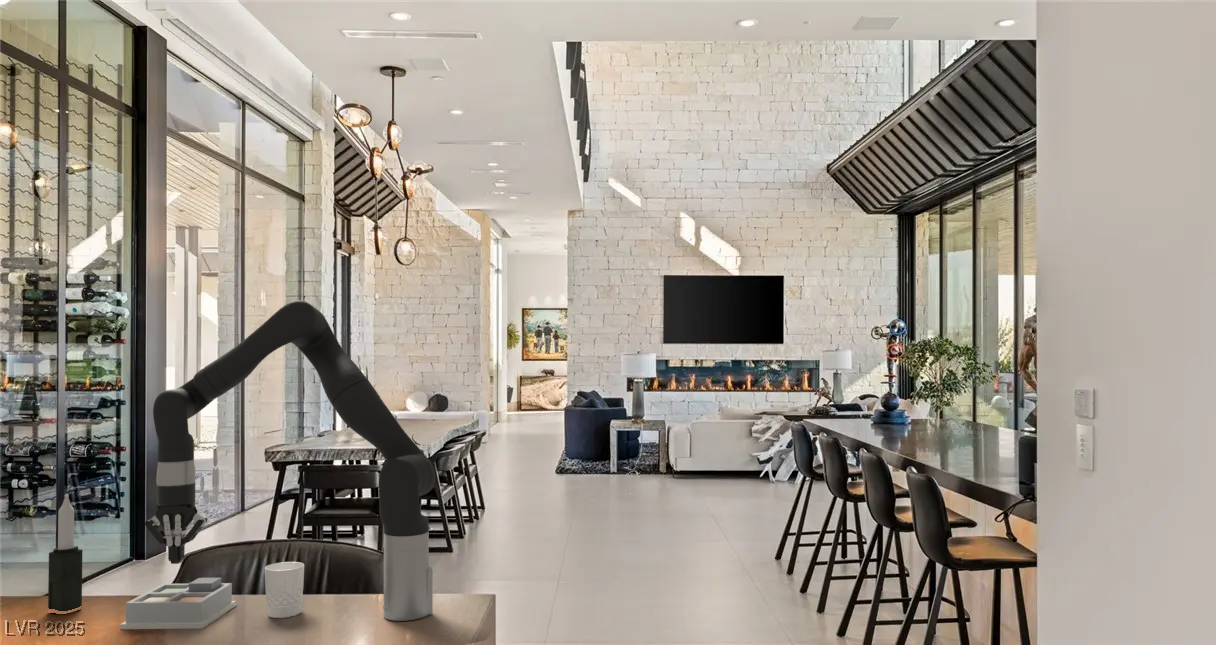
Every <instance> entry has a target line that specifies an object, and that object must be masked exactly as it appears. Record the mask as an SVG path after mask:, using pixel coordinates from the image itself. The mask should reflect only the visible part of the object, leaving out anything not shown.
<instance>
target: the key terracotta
mask: <svg viewBox="0 0 1216 645" xmlns="http://www.w3.org/2000/svg"><path fill="white" fill-rule="evenodd" d="M202 598H204V597H184V598H182V599H180V600H178V601H199V600H201V599H202Z"/></svg>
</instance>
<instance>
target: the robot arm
mask: <svg viewBox="0 0 1216 645" xmlns="http://www.w3.org/2000/svg"><path fill="white" fill-rule="evenodd" d="M288 344H293V345H294V346H296V348H298V349H299V351H301V353H302V354H303V355H304V357H306V359H307V360H308V361H309V363H310V364H311V365H312V366H313V368H315V370H316V373H317V376H318V377H319V380H320V382H321V385H322V388H323V390H324V393H325V395H326V397H327V399H328V401H329V402H330V404H331V405H332V407H333V408H334V410H335V412H336V413H337V414H338V416H339V417H340V418H341V420H342V421H343V422H344V423H345V424H346V425H347V427H349V428H350V429H351V430H352V431H353V432H355V433H356V434H358V435H359V436H360V437H362V438H363V439H364V440H366V441H367V442H368V443H370V444H371V445H372V446H374V447H375V448H376V449H377V451H379V452H380V454H381V456H382V457H383V458H384V460H385V463H383V466H382V467H381V469H380V472H379V477H378V501H379V502H378V504H379V506H378V507H379V516H380V521H381V523H382V525H383V605H382V606H383V617H384V619H386V620H389V621H397V622H398V621H399V622H400V621H401V622H402V621H404V622H405V621H413V620H414V621H415V620H419V619H423V618H425V617H427V616H429V615H433V613H434V612H433V610H434V609H433V604H434V602H433V596H434V594H433V593H434V591H433V589H434V587H433V585H434V584H433V574H434V573H433V567H430V566H429V565H430V564H429V563H430V562H429V559H430V557H429V552H430V550H429V549H430V546H429V541H430V539H429V537H430V536H429V532H430V531H429V530H430V526H429V525H430V523H429V522H430V521H429V519H428V518H429V517H427V516H425V515H424V514H422V512H421V508H420V497H422V496H425V495H427V494H428V493H429V492H431V491H432V489H433V488H434V485H435V483H436V472H435V468H434V466H433V463H432V462H431V460H430V459H429V458H428V456H427V455H426V454H425V453H424V452H423V451H422V450H421V448H420V447H419V446H418V445H417V444H416V443H415V442H414V441H413V439H412V438H411V437H410V436H409V435H408V434H407V432H406V431H405V430H404V428H402V426H401V425H400V423H399V421H398V420H397V419H396V417H395V416H394V415H393V413H392V412H391V411H390V409H389V408H388V406H387V405H386V403H385V402H384V401H383V399H382V398H381V396H380V395H379V393H378V392H377V390H376V389H375V387H374V386H373V384H372V383H371V381H370V380H369V379H368V377H367V376H366V375H365V374H364V373H363V372H362V370H361V369H360V368H359V366H358V365H357V364H356V363H355V362H354V361H353V359H351V357H349V355H348V354H347V353H346V352H345V351H344V349H343V347H342V345H341V344H340V343H339V341H338V339H337V337H336V336H335V334H334V332H333V330H332V328H331V326H330V323H328V321H327V319H326V317H325V315H324V314H323V313H322V312H321V311H320V310H319V309H318V308H316V307H315V306H313V305H312V304H311V303H309V302H307V301H304V300H301V299H300V300H298V299H297V300H292V301H290V302H287V303H285V304H284V305H283V306H282V307H280V308H279V309H278V310H277V311H276V312H275V313H274V314H272V315H271V316H270V317H269V318H268V319H267V320H266V321H265V322H263V323H262V324H261V325H260V326H259V327H258V328H256V329H255V330H254V331H253V332H252V333H251V334H250V335H248V336H247V337H246V338H245V339H243V340H242V341H241V342H240V343H238V344H237V345H236V346H234V347H233V348H232V349H230V350H229V351H227V352H226V353H224V354H223V355H221V356H220V357H218V358H217V359H215V360H213V361H212V362H211V363H209V364H207V365H206V366H204V367H202V368H201V369H200V370H198V371H197V372H196V373H195V374H194V375H193V378H191V379H190V380H189V381H187V382H185V383H184V384H183V385H181V386H179V387H177V388H176V389H175V388H174V389H167V390H164V391H162V392H160V393H159V394H158V395H157V397H156V398H155V400H154V401H153V407H152V408H153V409H152V417H153V422H154V429H155V433H156V437H157V441H158V444H157V467H156V468H157V469H156V479H155V482H156V506H157V507H156V510H155V512H154V515H153V517H151V518H150V519H148V520H146V521H145V522H144V525H145V527H146V528H147V530H148V531H149V532H150V533H151V534H152V536H153V537H154V538H155V540H156V541H157V542H158V543H159V544H161V545H162V544H164V545H166V546H167V549H168V550H167V551H168V552H167V556H168V558H167V559H168V562H170V564H171V565H177V564H180V563H182V562H183V561H184V560H185V552H186V551H185V550H186V549H185V547H186V546H185V545H186V544H188V543H190V542H192V541H194V539H195V538H196V537H197V535H199V533H200V532H201V531H202V529H203V528H204V526H205V525H206V524H207V523H208V518H207V517H205V516H204V517H202V516H201V515H200V514H198V509H197V507H196V466H195V442H194V437H193V435H192V434H190V431H189V424H188V422H189V421H188V420H189V419H190V418H193V416H195V415H197V414H198V413H199V412H201V411H202V410H203V409H204V408H205V407H208V406H209V404H211V403H212V402H213V401H214V400H215V399H217V398H219V397H221V396H224V394H225V393H228V391H230V390H232V389H233V388H234V387H237V386H238V385H240V384H241V383H242V382H243V381H245V379H247V378H248V377H249V376H250V375H251V374H252V373H253V371H254V370H255V369H256V368H257V367H258V366H259V365H260V363H261V362H263V361H264V360H265V358H267V357H268V356H269V355H270V354H273V352H275V351H276V350H278V349H281V348H282V347H284V346H286V345H288ZM191 523H192V525H193V526H192V527H191V529H189V528H188V527H189V526H190V525H191ZM163 528H164V529H163ZM188 530H189V531H188Z"/></svg>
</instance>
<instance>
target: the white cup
mask: <svg viewBox="0 0 1216 645" xmlns="http://www.w3.org/2000/svg"><path fill="white" fill-rule="evenodd" d="M304 578H305V564H304V563H303V562H300V561H282V562H275V563H271V564H268V565H265V567H264V584H265V585H264V586H265V601H266V615H267V616H268V617H269V618H272V619H283V618H284V619H285V618H286V619H287V618H291V616H292V617H295V616H297V614H298V615H299V613H300V614H301V612H302V606H303V604H302V601H303V597H304V596H303V595H304V594H303V591H304Z"/></svg>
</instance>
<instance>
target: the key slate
mask: <svg viewBox="0 0 1216 645" xmlns="http://www.w3.org/2000/svg"><path fill="white" fill-rule="evenodd" d="M221 583H222V577H198V578H196V579H194V580H193V581H191V582H189V583H188V584H189V592H214V591H215V590H217V589H219V588H220V587H221Z"/></svg>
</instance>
